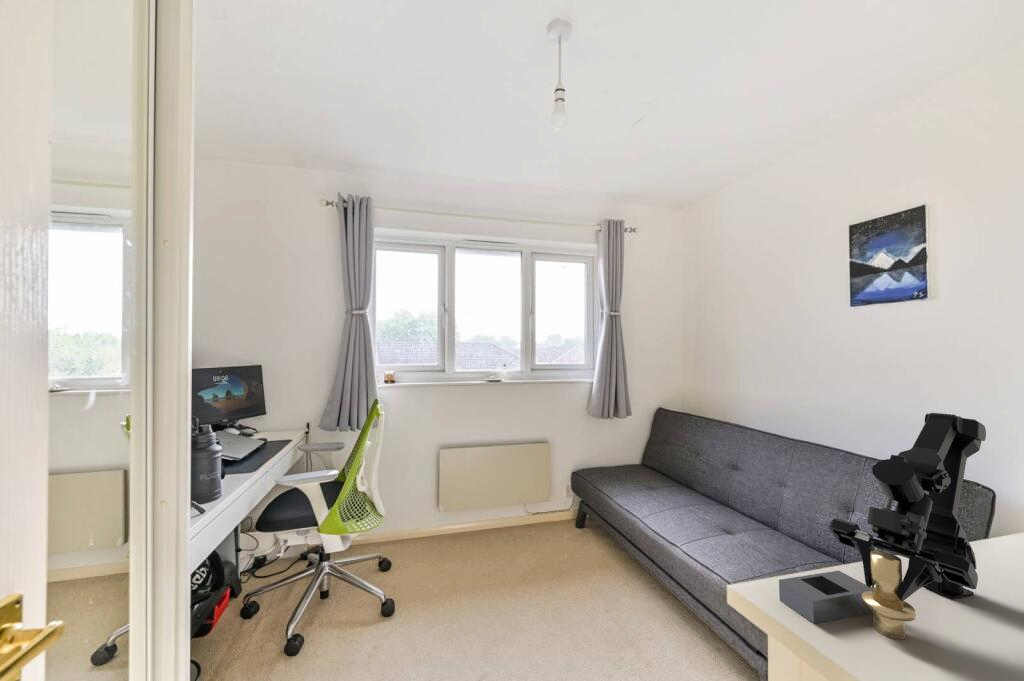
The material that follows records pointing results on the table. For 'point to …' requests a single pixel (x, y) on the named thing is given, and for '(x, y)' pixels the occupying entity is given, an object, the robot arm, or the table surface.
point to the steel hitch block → (824, 596)
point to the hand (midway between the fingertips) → (883, 592)
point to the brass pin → (887, 596)
